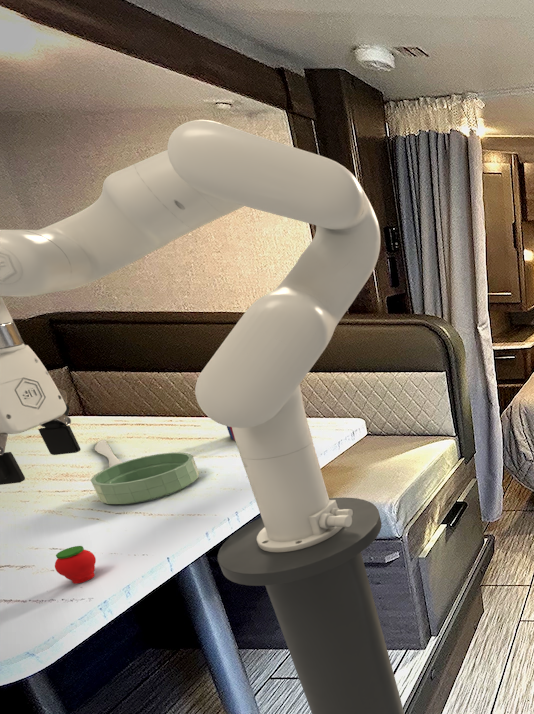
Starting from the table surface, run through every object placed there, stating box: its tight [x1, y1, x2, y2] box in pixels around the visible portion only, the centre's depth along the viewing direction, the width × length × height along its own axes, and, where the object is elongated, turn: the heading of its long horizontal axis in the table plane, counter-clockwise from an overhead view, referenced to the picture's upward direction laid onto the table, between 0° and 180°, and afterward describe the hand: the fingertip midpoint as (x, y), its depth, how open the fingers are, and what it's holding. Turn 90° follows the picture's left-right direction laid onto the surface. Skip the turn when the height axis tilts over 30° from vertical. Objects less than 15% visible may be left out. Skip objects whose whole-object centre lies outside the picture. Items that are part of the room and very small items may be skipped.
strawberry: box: [54, 545, 97, 585], centre depth 70 cm, size 4×4×5 cm
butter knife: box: [94, 439, 124, 468], centre depth 112 cm, size 1×27×3 cm
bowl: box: [90, 452, 200, 505], centre depth 96 cm, size 14×14×4 cm
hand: (39, 467), depth 68 cm, fingers open, 9 cm apart
